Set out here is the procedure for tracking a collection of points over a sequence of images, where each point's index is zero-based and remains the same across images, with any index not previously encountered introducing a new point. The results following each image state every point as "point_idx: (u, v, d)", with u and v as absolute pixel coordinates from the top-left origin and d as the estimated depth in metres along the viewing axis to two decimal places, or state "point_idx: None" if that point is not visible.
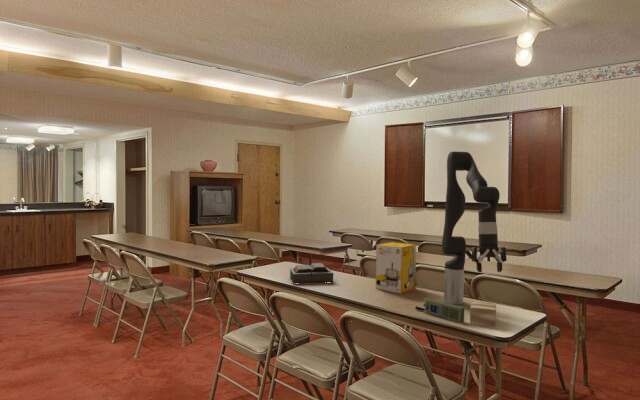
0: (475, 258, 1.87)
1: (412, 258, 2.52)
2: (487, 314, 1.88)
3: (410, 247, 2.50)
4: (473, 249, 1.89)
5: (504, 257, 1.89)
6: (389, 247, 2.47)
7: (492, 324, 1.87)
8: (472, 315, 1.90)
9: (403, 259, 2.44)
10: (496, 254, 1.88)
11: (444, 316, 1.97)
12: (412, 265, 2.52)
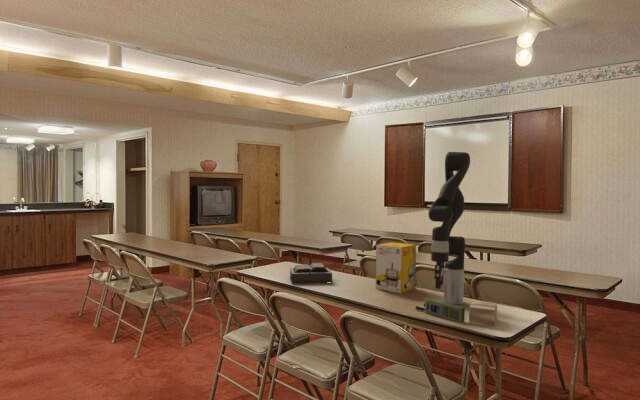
0: None
1: (412, 258, 2.52)
2: (486, 314, 1.88)
3: (410, 247, 2.50)
4: None
5: None
6: (389, 247, 2.47)
7: (491, 324, 1.87)
8: (471, 315, 1.91)
9: (403, 259, 2.44)
10: None
11: (445, 316, 1.98)
12: (412, 265, 2.52)
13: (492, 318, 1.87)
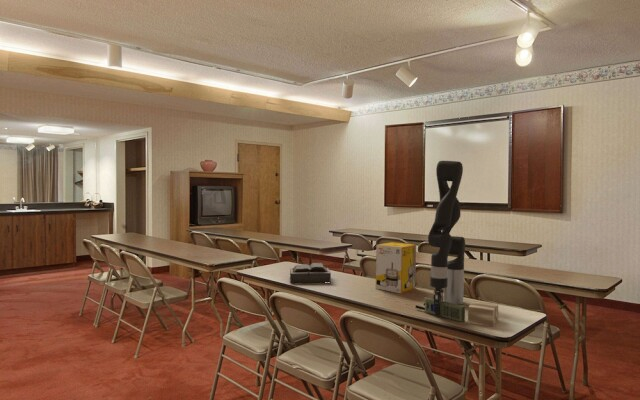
0: None
1: (412, 258, 2.52)
2: (485, 313, 1.88)
3: (410, 247, 2.50)
4: None
5: None
6: (389, 247, 2.47)
7: (489, 324, 1.87)
8: (470, 315, 1.91)
9: (403, 259, 2.44)
10: None
11: (445, 315, 1.98)
12: (412, 265, 2.52)
13: (491, 318, 1.87)
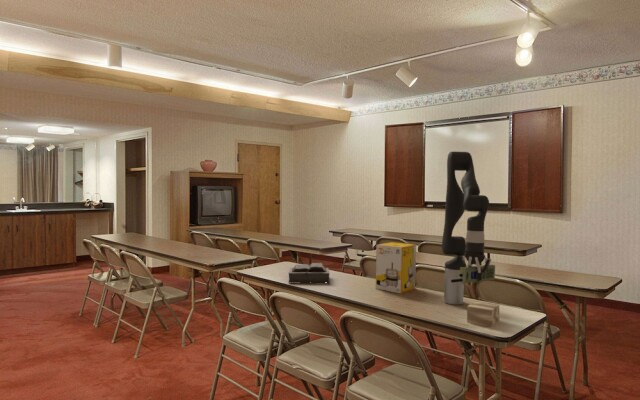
0: None
1: (412, 258, 2.52)
2: (483, 313, 1.88)
3: (410, 247, 2.50)
4: None
5: (484, 268, 1.91)
6: (389, 247, 2.47)
7: (488, 324, 1.87)
8: (469, 314, 1.92)
9: (403, 259, 2.44)
10: (477, 263, 1.93)
11: (482, 279, 1.97)
12: (412, 265, 2.52)
13: (489, 318, 1.87)
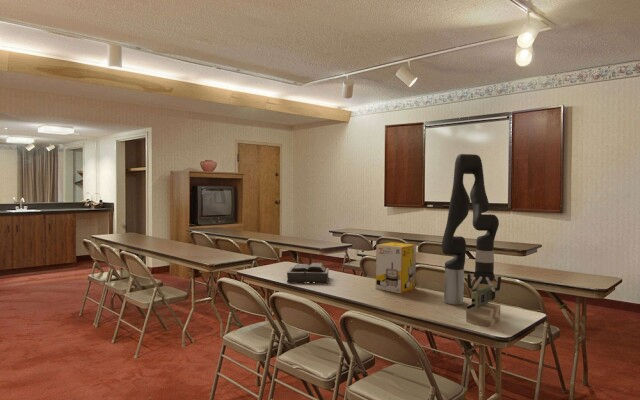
0: (469, 285, 1.95)
1: (412, 258, 2.52)
2: (482, 313, 1.88)
3: (410, 247, 2.50)
4: None
5: (498, 286, 1.91)
6: (389, 247, 2.47)
7: (486, 324, 1.87)
8: (468, 314, 1.93)
9: (403, 259, 2.44)
10: (489, 282, 1.91)
11: (487, 301, 1.97)
12: (412, 265, 2.52)
13: (487, 318, 1.87)
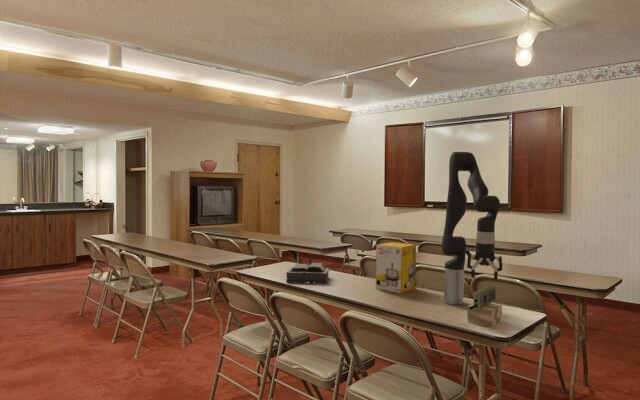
0: (468, 265, 1.95)
1: (412, 258, 2.52)
2: (483, 314, 1.88)
3: (410, 247, 2.50)
4: (468, 256, 1.96)
5: (500, 267, 1.90)
6: (389, 247, 2.47)
7: (487, 324, 1.87)
8: (469, 314, 1.92)
9: (403, 259, 2.44)
10: (490, 263, 1.91)
11: (489, 301, 1.97)
12: (412, 265, 2.52)
13: (489, 318, 1.86)
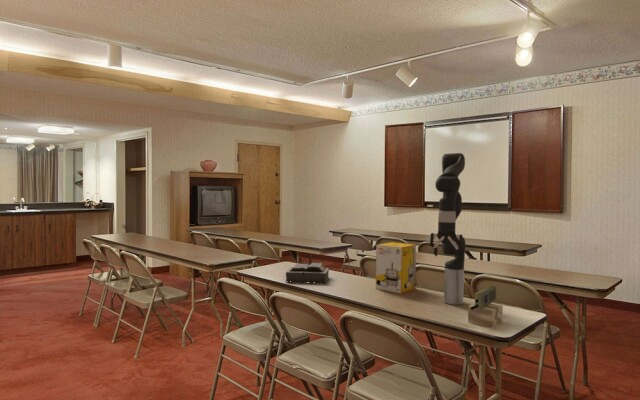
0: (431, 243, 2.04)
1: (412, 258, 2.52)
2: (484, 314, 1.88)
3: (410, 247, 2.50)
4: None
5: (460, 244, 1.99)
6: (389, 247, 2.47)
7: (488, 325, 1.87)
8: (470, 314, 1.92)
9: (403, 259, 2.44)
10: (451, 241, 2.00)
11: (490, 301, 1.97)
12: (412, 265, 2.52)
13: (489, 319, 1.86)
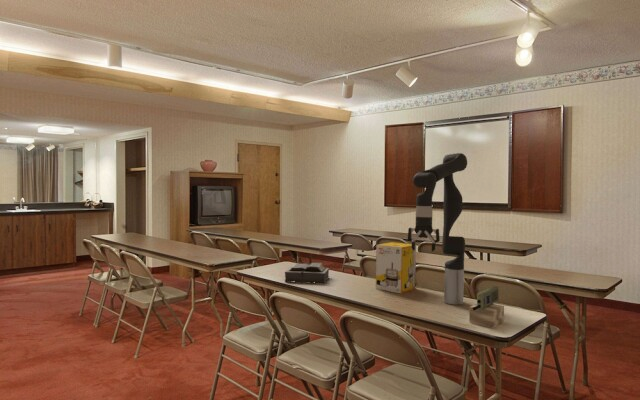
0: (409, 238, 2.09)
1: (412, 258, 2.52)
2: (485, 314, 1.87)
3: (410, 247, 2.50)
4: None
5: (437, 238, 2.05)
6: (389, 247, 2.47)
7: (489, 325, 1.86)
8: (471, 315, 1.91)
9: (403, 259, 2.44)
10: (428, 235, 2.06)
11: (492, 302, 1.96)
12: (412, 265, 2.52)
13: (491, 319, 1.86)
